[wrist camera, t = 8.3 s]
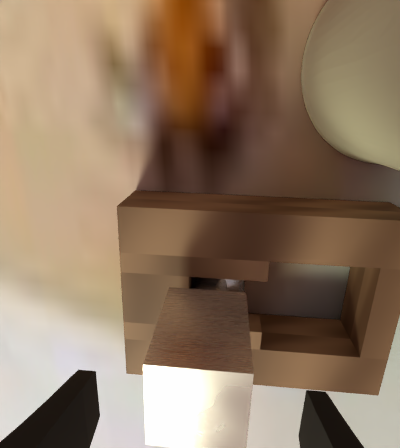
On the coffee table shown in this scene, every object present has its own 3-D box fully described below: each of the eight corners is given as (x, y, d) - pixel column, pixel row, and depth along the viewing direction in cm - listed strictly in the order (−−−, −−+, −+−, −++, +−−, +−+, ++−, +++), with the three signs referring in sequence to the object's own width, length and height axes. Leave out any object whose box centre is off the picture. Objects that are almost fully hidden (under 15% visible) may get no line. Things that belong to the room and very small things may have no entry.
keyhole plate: (390, 202, 18) (424, 221, 15) (356, 353, 21) (378, 395, 18) (135, 190, 19) (117, 206, 16) (141, 336, 22) (126, 373, 19)
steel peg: (245, 249, 19) (260, 369, 10) (241, 308, 21) (250, 458, 12) (178, 245, 20) (136, 359, 11) (178, 303, 21) (140, 447, 12)
